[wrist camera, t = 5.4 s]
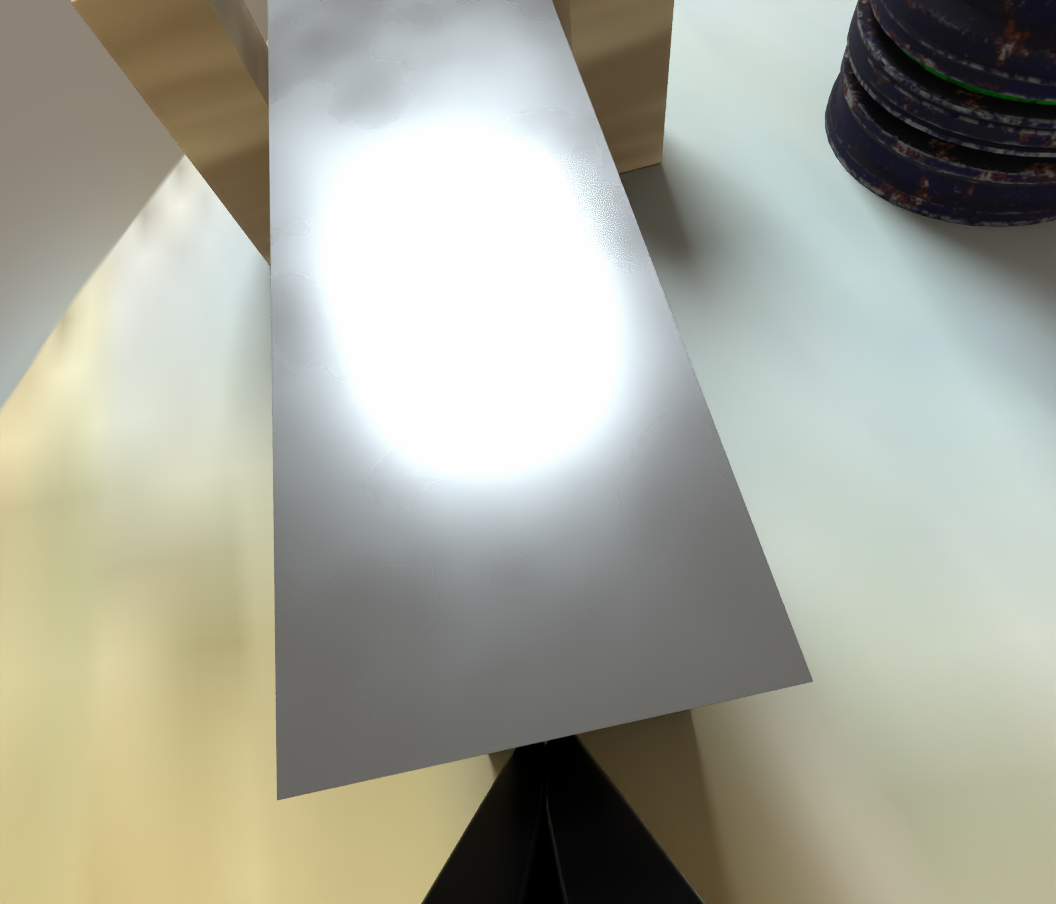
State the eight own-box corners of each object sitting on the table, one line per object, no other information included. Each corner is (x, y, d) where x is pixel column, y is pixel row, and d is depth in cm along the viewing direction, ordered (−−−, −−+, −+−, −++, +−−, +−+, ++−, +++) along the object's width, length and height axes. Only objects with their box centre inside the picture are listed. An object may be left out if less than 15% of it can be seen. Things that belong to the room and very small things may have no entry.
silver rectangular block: (694, 708, 14) (824, 678, 5) (484, 754, 15) (267, 802, 6) (530, 154, 23) (474, -215, 14) (399, 188, 23) (261, -155, 14)
